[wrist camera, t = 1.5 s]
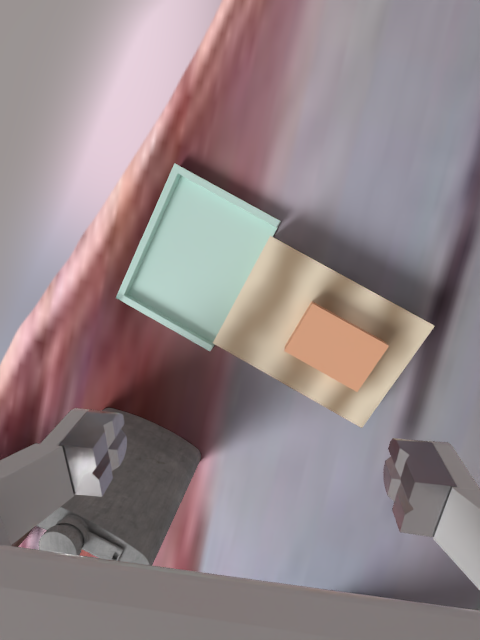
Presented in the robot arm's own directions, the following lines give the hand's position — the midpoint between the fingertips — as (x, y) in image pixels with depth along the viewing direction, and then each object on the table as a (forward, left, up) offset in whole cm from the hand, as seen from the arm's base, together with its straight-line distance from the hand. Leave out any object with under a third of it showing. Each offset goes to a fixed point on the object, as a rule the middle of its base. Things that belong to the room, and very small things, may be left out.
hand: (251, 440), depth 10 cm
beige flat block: (-5, +1, -33) cm, 33 cm away
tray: (+12, +1, -33) cm, 35 cm away
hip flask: (+7, +26, -33) cm, 42 cm away
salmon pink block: (-7, +1, -29) cm, 29 cm away
